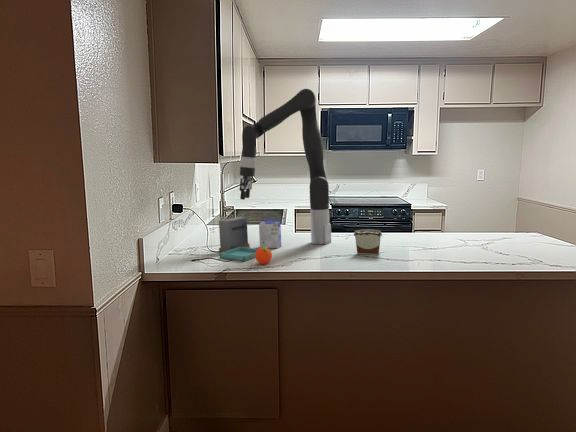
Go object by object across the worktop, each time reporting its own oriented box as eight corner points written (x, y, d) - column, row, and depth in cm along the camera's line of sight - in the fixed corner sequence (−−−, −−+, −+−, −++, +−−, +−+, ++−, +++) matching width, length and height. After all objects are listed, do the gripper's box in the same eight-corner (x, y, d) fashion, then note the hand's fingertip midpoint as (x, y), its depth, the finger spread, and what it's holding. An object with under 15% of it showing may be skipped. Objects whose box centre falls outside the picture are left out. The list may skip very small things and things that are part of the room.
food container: (383, 251, 182) (383, 229, 181) (382, 254, 176) (382, 232, 175) (356, 250, 186) (355, 228, 185) (353, 253, 180) (353, 231, 179)
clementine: (276, 264, 167) (276, 247, 166) (261, 267, 163) (261, 250, 162) (266, 260, 173) (266, 244, 172) (252, 263, 170) (251, 246, 169)
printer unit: (249, 247, 200) (248, 217, 198) (230, 253, 188) (228, 221, 186) (238, 246, 204) (237, 216, 202) (219, 252, 192) (217, 220, 190)
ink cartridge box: (281, 245, 201) (280, 216, 199) (279, 248, 196) (278, 218, 194) (262, 245, 204) (261, 217, 201) (259, 248, 198) (258, 218, 196)
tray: (264, 254, 184) (264, 249, 184) (244, 261, 173) (244, 256, 173) (241, 251, 193) (240, 246, 192) (220, 258, 181) (219, 253, 181)
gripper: (251, 167, 196) (248, 200, 198) (258, 167, 210) (255, 198, 212) (236, 165, 197) (233, 199, 199) (244, 165, 211) (241, 196, 213)
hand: (244, 198), depth 206 cm, fingers open, 8 cm apart
